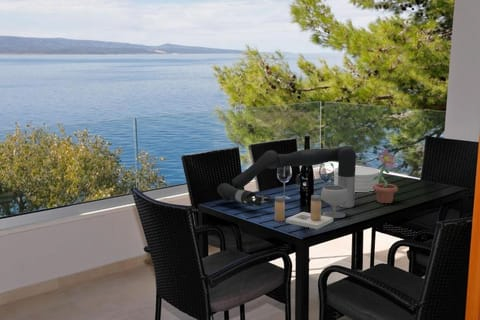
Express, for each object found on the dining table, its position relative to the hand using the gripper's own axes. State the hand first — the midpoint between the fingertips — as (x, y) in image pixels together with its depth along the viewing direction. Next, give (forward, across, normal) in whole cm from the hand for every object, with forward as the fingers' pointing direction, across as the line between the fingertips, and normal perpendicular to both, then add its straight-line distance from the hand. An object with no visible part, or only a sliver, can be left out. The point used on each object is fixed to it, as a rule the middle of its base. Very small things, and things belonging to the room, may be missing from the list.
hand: (266, 202), depth 277 cm
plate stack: (-7, +87, +8) cm, 88 cm away
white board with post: (+22, +8, +7) cm, 25 cm away
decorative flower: (+26, +69, +8) cm, 74 cm away
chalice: (+23, +26, +7) cm, 36 cm away
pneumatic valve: (-22, +55, +7) cm, 60 cm away
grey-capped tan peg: (+10, 0, +7) cm, 12 cm away
